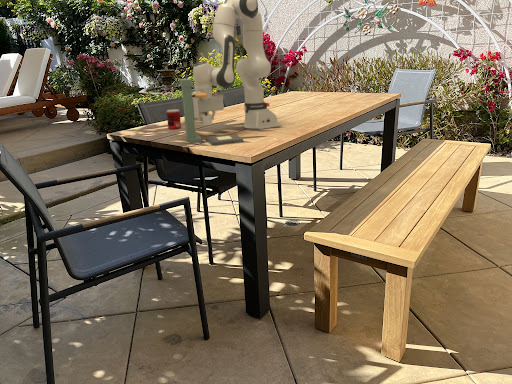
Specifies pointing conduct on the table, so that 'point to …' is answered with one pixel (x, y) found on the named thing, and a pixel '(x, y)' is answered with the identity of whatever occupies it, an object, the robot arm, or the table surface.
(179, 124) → the canned food
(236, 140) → the plate
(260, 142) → the table surface
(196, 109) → the ram
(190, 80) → the frame
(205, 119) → the housing
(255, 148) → the table surface
